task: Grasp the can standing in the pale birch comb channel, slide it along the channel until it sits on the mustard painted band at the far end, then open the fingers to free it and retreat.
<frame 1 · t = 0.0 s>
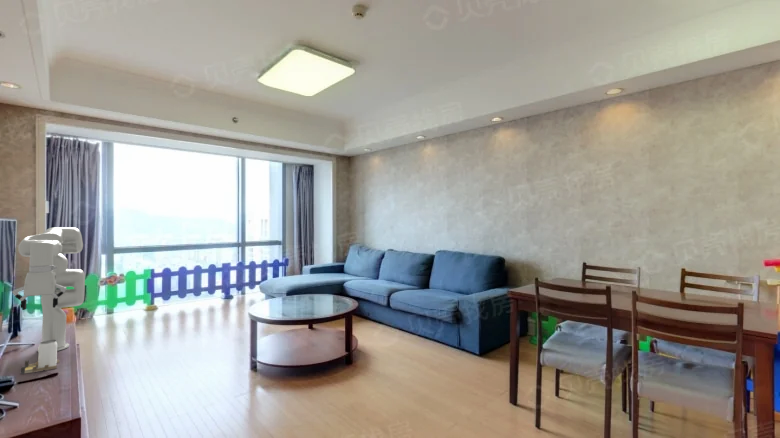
hand: (39, 308, 160), 31 cm above the table, fingers open, 9 cm apart
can: (47, 367, 173), on the table
comb channel: (40, 367, 172), on the table
band pad: (29, 369, 170), on the table
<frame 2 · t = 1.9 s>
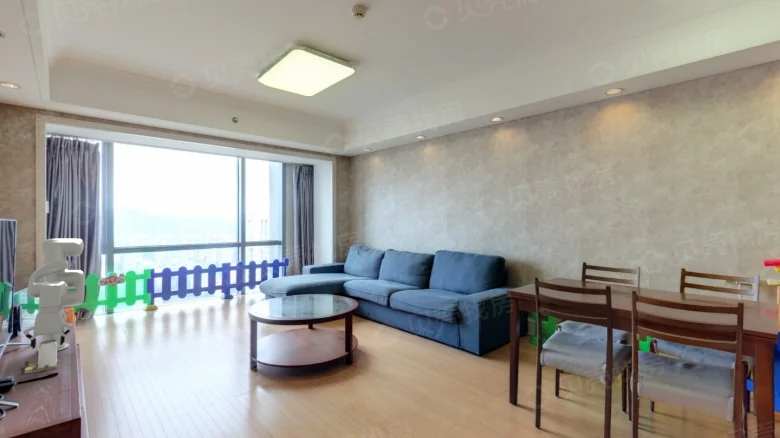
hand: (48, 346, 173), 10 cm above the table, fingers open, 9 cm apart
nothing on the table moved.
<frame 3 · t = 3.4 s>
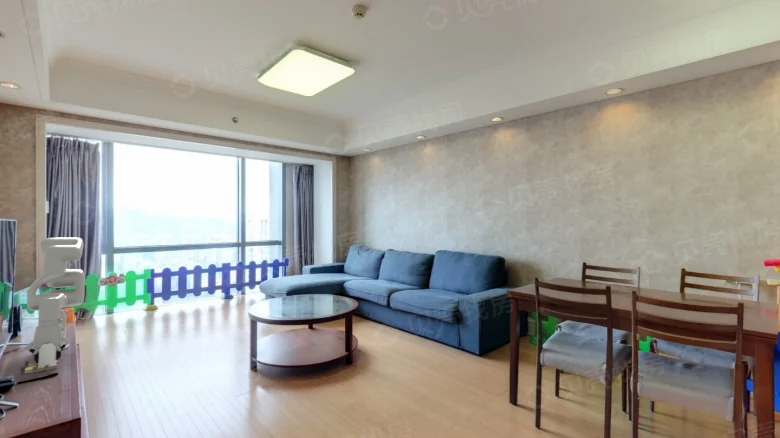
hand: (47, 360, 173), 3 cm above the table, fingers closed on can, 6 cm apart
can: (47, 367, 173), on the table, touching gripper
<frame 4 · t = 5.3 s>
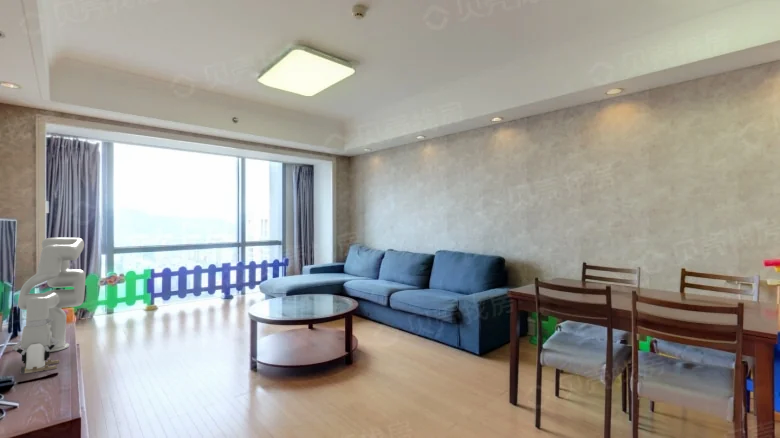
hand: (35, 360, 171), 4 cm above the table, fingers closed on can, 6 cm apart
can: (35, 367, 171), on the table, touching gripper
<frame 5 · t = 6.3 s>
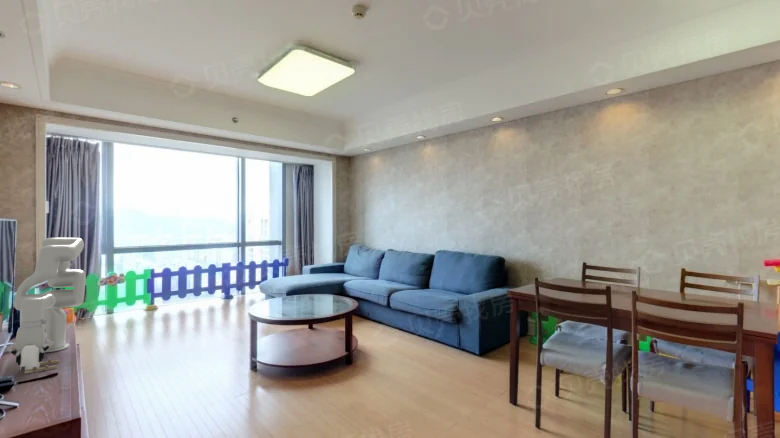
hand: (30, 362, 170), 3 cm above the table, fingers closed on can, 6 cm apart
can: (29, 369, 170), on the table, touching band pad, gripper
when the fingers open (3 cm above the table, at t = 7.0 s): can stays where it is, resting on band pad.
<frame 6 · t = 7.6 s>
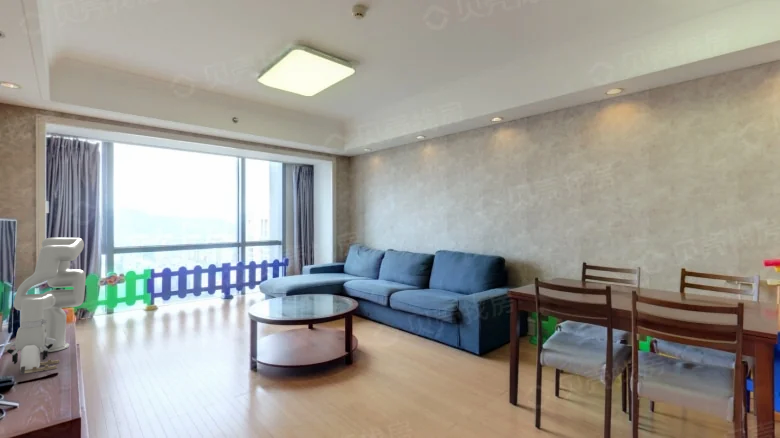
hand: (30, 360, 170), 4 cm above the table, fingers open, 9 cm apart
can: (29, 369, 170), resting on band pad
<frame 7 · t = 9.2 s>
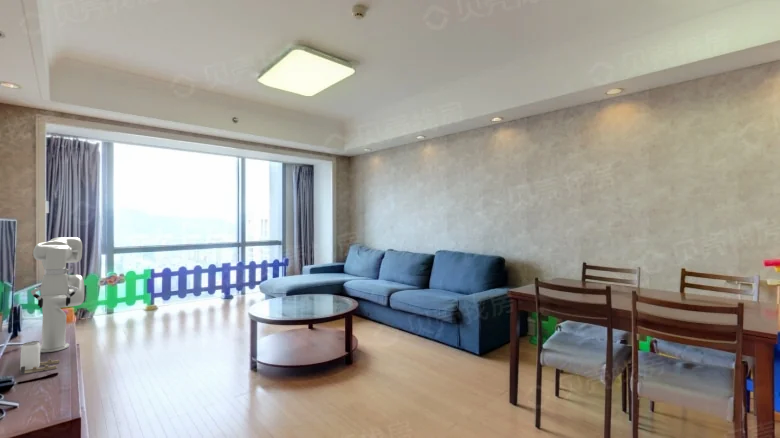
hand: (54, 306, 180), 27 cm above the table, fingers open, 9 cm apart
nothing on the table moved.
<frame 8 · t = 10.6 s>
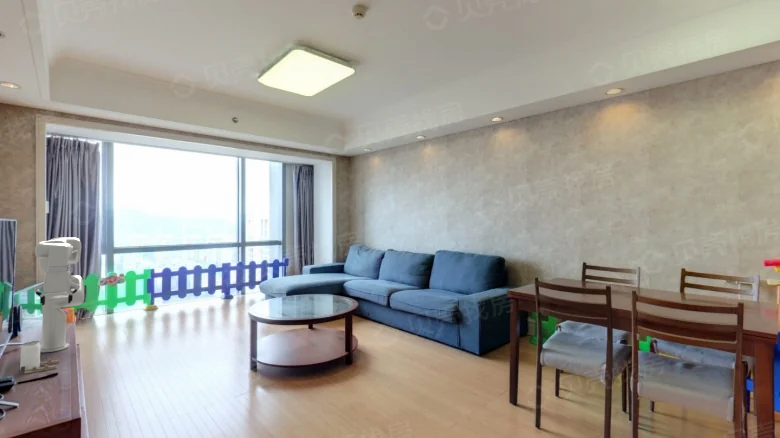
hand: (56, 303, 181), 28 cm above the table, fingers open, 9 cm apart
nothing on the table moved.
at the end: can 0.2 cm from the target spot, on the table; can tilted 0°; the gripper is holding nothing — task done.
